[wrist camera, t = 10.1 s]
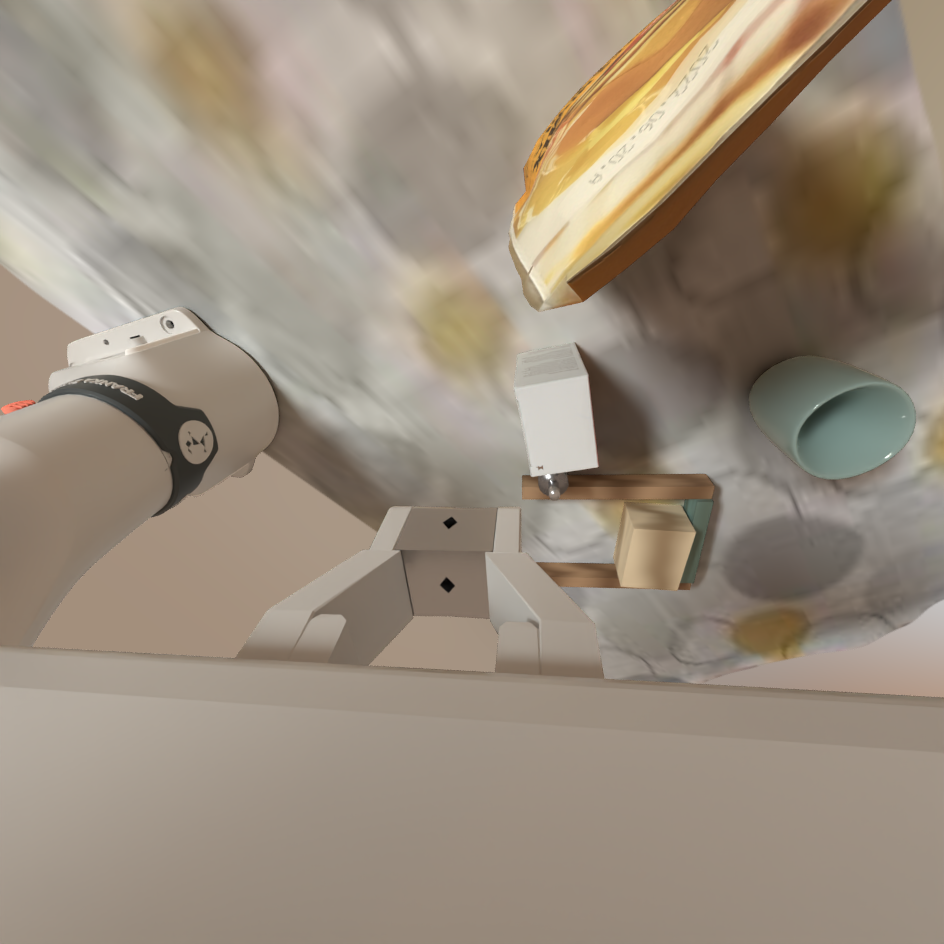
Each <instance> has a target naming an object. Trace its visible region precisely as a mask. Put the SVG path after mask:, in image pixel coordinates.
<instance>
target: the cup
mask: <svg viewBox="0 0 944 944" xmlns="http://www.w3.org/2000/svg"><path fill="white" fill-rule="evenodd" d="M749 408H750V413H751V415H752V417H753V419H754V422H755V423H756V425H757V426H758V428H759V429H760V430H761V432H762V433H763V434H764V435H765V436H766V437H767V439H768V440H769V441H770V442H771V443H772V444H773V445H775V446H776V447H777V448H778V449H779V450H780V451H781V452H782V453H783V454H785V455H786V456H787V457H788V458H789V459H790V460H791V461H793V462H794V463H795V464H796V465H797V466H799V467H800V468H801V469H802V470H804V471H805V472H807V473H809V474H811V475H813V476H815V477H818V478H822V479H834V480H837V479H844V478H850V477H853V476H857V475H860V474H863V473H865V472H868V471H870V470H873V469H874V468H876V467H878V466H880V465H882V464H884V463H885V462H887V461H888V460H889V459H891V458H892V457H894V456H895V455H896V454H897V453H898V452H899V451H900V450H902V448H903V447H904V446H905V445H906V444H907V442H908V441H909V439H910V437H911V436H912V434H913V432H914V428H915V424H916V411H915V407H914V404H913V402H912V400H911V398H910V397H909V395H908V394H907V393H906V392H905V391H904V390H903V389H902V388H901V387H899V386H897V385H896V384H894V383H892V382H890V381H888V380H886V379H884V378H882V377H880V376H877V375H875V374H873V373H870V372H868V371H866V370H863V369H861V368H858V367H856V366H853V365H851V364H848V363H845V362H842V361H838V360H835V359H830V358H826V357H821V356H799V357H794V358H790V359H787V360H785V361H782V362H780V363H778V364H776V365H774V366H772V367H771V368H769V369H768V370H767V371H765V372H764V373H763V374H762V375H761V376H760V377H759V378H758V379H757V380H756V382H755V383H754V385H753V386H752V388H751V391H750V395H749Z"/></svg>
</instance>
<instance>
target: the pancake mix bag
mask: <svg viewBox="0 0 944 944" xmlns="http://www.w3.org/2000/svg"><path fill="white" fill-rule="evenodd" d="M890 1H891V0H677V1H676V2H674V3H673V4H672V5H671V6H670V7H668V8H667V9H666V10H665V11H664V12H662V13H661V14H660V15H659V16H658V17H656V18H655V19H654V20H653V21H652V22H651V23H650V24H648V25H647V26H646V27H645V28H644V29H643V30H642V31H641V32H640V33H638V34H637V35H636V36H635V37H634V38H633V39H632V40H631V41H630V42H628V43H627V44H626V45H625V46H624V47H623V48H622V49H621V50H620V51H619V52H617V53H616V54H615V55H614V56H613V57H612V58H611V59H610V60H609V61H608V62H607V63H606V64H605V65H604V66H603V67H602V68H601V69H600V70H599V71H598V72H597V73H596V74H595V75H594V76H593V77H592V78H591V79H590V80H589V81H588V82H587V83H586V84H585V85H584V86H583V87H582V88H581V89H580V90H579V91H578V92H577V93H576V94H575V95H574V96H573V97H572V98H571V100H570V101H569V102H568V103H567V104H566V105H565V106H564V108H563V109H562V110H561V111H560V112H559V113H558V115H557V116H556V117H555V118H554V120H553V121H552V122H551V123H550V125H549V126H548V127H547V129H546V130H545V131H544V133H543V134H542V135H541V136H540V138H539V139H538V141H537V143H536V145H535V147H534V149H533V151H532V153H531V155H530V157H529V159H528V161H527V163H526V165H525V166H524V168H523V170H524V178H525V187H526V192H525V193H524V195H523V196H522V197H521V198H520V200H519V201H518V202H517V203H516V205H515V207H514V211H513V219H512V222H511V226H510V230H509V233H508V234H509V236H510V241H509V251H510V254H511V257H512V259H513V262H514V264H515V267H516V269H517V271H518V273H519V275H520V277H521V280H522V287H523V294H524V296H525V298H526V299H527V301H528V302H529V304H530V305H531V307H533V308H534V309H536V310H537V311H538V312H541V311H545V310H550V309H554V308H558V307H563V306H567V305H572V304H576V303H580V302H584V301H585V300H586V299H588V298H589V297H590V296H592V295H593V294H594V293H595V292H597V291H598V290H599V289H601V288H602V287H603V286H604V285H606V284H607V283H608V282H610V281H611V280H612V279H613V278H615V277H616V276H617V275H619V274H620V273H621V272H623V271H624V270H625V269H626V268H628V267H629V266H630V265H631V264H632V263H634V262H635V261H636V260H637V259H638V258H640V257H641V256H642V255H643V254H644V253H646V252H647V251H648V250H649V249H650V248H652V247H653V246H654V245H655V244H656V243H658V242H659V241H660V240H661V239H662V238H664V237H665V236H666V235H667V234H668V233H669V232H671V231H672V230H673V229H674V228H675V227H676V226H677V225H678V223H679V222H680V221H681V220H682V219H683V218H684V217H685V215H686V214H687V213H688V212H689V211H690V210H691V209H692V207H693V206H694V205H695V204H696V203H697V202H698V201H699V199H700V198H701V197H702V196H703V195H704V194H705V192H706V191H707V190H708V189H709V188H710V187H711V186H712V184H713V183H714V182H715V181H716V180H717V179H718V178H719V177H720V176H721V175H722V174H723V172H724V171H725V170H726V169H727V168H728V167H729V166H730V165H731V164H732V163H733V162H734V161H735V160H736V159H737V158H738V157H739V156H740V155H741V154H742V153H743V152H744V151H745V150H746V149H747V148H748V147H749V146H750V145H751V144H752V143H753V142H754V141H755V140H756V139H757V138H758V137H759V136H760V135H761V134H762V133H763V132H764V131H765V130H766V129H767V128H768V127H769V126H770V125H771V124H772V122H773V121H774V120H775V119H776V118H777V117H778V116H779V115H780V114H781V113H782V112H783V111H784V110H785V108H786V107H787V106H788V105H789V104H790V103H791V102H792V101H793V100H794V99H795V98H796V97H797V96H798V95H799V93H800V92H801V91H802V90H803V89H804V88H805V87H806V86H807V85H808V84H809V83H810V82H811V81H812V80H813V78H814V77H815V76H816V75H817V74H818V73H819V72H820V71H821V70H822V69H823V68H824V67H825V66H826V64H827V63H828V62H829V61H830V60H831V59H832V58H833V57H834V56H835V55H836V54H837V53H839V52H840V51H841V50H842V49H843V48H844V47H845V46H846V45H847V44H848V43H849V42H850V41H851V40H852V39H853V38H854V37H855V36H856V35H857V34H858V33H859V32H860V31H861V30H862V29H863V28H864V27H865V26H866V25H867V24H868V23H869V22H870V21H871V20H872V19H873V18H874V17H875V16H876V15H877V14H878V13H879V12H880V11H881V10H882V9H883V8H884V7H885V6H886V5H887V4H888V3H889V2H890Z"/></svg>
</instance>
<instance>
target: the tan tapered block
mask: <svg viewBox="0 0 944 944" xmlns="http://www.w3.org/2000/svg"><path fill="white" fill-rule="evenodd" d="M695 534H696V531H695V530H694V528H693V526H692V524H691V522H690V521H689V519H688V517H687V515H686V513H685V511H684V510H683V508H682V506H681V505H670V504H652V503H634V502H625V503H624V508H623V512H622V517H621V522H620V527H619V532H618V536H617V541H616V546H615V551H614V556H613V559H614V562H615V566H616V570H617V574H618V578H619V582H620V586H621V587H633V588H647V589H660V590H673V591H677V590H678V587H679V584H680V581H681V578H682V575H683V572H684V569H685V565H686V562H687V559H688V556H689V553H690V550H691V547H692V544H693V541H694V538H695Z"/></svg>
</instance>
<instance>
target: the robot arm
mask: <svg viewBox="0 0 944 944" xmlns="http://www.w3.org/2000/svg"><path fill="white" fill-rule="evenodd" d="M171 321H172V322H173V324H174V326H173V325H172V324H171ZM67 354H68V363H69V367H68V368H66V369H62V370H59V371H56V372H53V373H52V374H51V376H50V379H49V393H48V394H47V395H45V396H43V398H41V400H40V401H39V402H38V403H35V402H34V401H32V400H26V401H19V402H14V403H11V404H8V405H6V406H4V407H2V408H1V410H2V411H3V412H4V414H5V415H2V416H0V944H944V698H943V697H942V698H941V697H925V696H907V695H906V696H905V695H889V694H871V693H870V694H869V693H852V692H835V691H817V690H816V691H815V690H799V689H780V688H763V687H745V686H727V685H709V684H708V685H707V684H691V683H672V682H653V681H634V680H615V679H604V674H603V668H602V662H601V656H600V651H599V645H598V639H597V633H596V628H595V623H594V622H593V621H592V620H591V619H590V618H589V617H588V616H587V615H586V614H585V613H584V612H583V611H582V610H581V609H580V608H579V607H578V606H577V605H576V604H575V603H574V602H573V600H572V599H571V598H570V597H569V596H568V595H567V594H566V593H565V592H564V591H563V590H562V589H561V588H560V587H559V586H558V585H557V584H556V583H555V582H554V581H553V580H552V579H551V578H550V577H549V575H548V574H547V573H546V572H545V571H544V570H543V569H542V568H541V567H540V566H539V565H538V564H537V563H536V562H535V561H534V560H533V559H532V558H531V557H530V556H529V555H528V554H527V553H522V540H521V508H520V507H498V508H456V507H420V506H414V507H412V506H393V507H391V508H390V509H389V510H388V512H387V514H386V516H385V518H384V520H383V522H382V524H381V526H380V528H379V530H378V532H377V534H376V537H375V538H374V540H373V543H372V545H371V547H370V549H369V550H362V551H360V552H358V553H357V554H355V555H354V556H352V557H350V558H349V559H347V560H346V561H344V562H343V563H341V564H339V565H338V566H336V567H335V568H333V569H332V570H330V571H328V572H327V573H325V574H324V575H322V576H321V577H319V578H317V579H316V580H314V581H313V582H311V583H310V584H308V585H306V586H305V587H303V588H302V589H300V590H299V591H297V592H295V593H294V594H292V595H291V596H289V597H288V598H286V599H284V600H283V601H281V602H280V603H278V604H276V605H275V606H273V607H272V608H270V609H269V610H268V611H267V612H266V613H265V615H264V616H263V618H262V619H261V621H260V622H259V624H258V625H257V626H256V628H255V629H254V631H253V633H252V634H251V635H250V637H249V638H248V640H247V641H246V643H245V644H244V646H243V647H242V649H241V650H240V651H239V653H238V654H237V656H236V657H235V658H223V657H204V656H186V655H168V654H150V653H132V652H115V651H97V650H79V649H61V648H43V647H32V646H33V644H34V643H35V641H36V639H37V638H38V636H39V634H40V633H41V631H42V630H43V628H44V627H45V625H46V623H47V622H48V620H49V619H50V617H51V615H52V614H53V613H54V611H55V610H56V609H57V607H58V606H59V604H60V603H61V602H62V600H63V599H64V597H65V596H66V595H67V593H68V592H69V591H70V590H71V589H72V587H73V586H74V585H75V584H76V583H77V581H78V580H79V579H80V578H81V577H82V576H83V575H84V574H85V573H86V572H87V571H88V570H89V569H90V568H91V567H92V566H93V565H94V564H95V563H96V562H97V561H98V560H99V559H101V558H102V557H103V556H104V555H105V554H107V553H108V552H109V551H110V550H111V549H112V548H113V547H115V546H116V545H117V544H118V543H119V542H121V541H122V540H123V539H124V538H125V537H127V536H128V535H129V534H130V533H131V532H133V531H134V530H135V529H136V528H138V527H139V526H140V525H141V524H143V523H144V522H145V521H146V520H148V519H149V518H150V517H154V516H158V515H160V514H162V513H164V512H165V511H167V510H169V509H171V508H173V507H175V506H176V505H178V504H179V503H181V502H182V501H183V500H184V499H185V498H186V497H187V496H194V497H198V496H201V495H203V494H205V493H206V492H207V491H209V490H211V489H212V488H214V487H215V486H216V485H218V484H220V483H221V482H222V481H224V480H225V479H227V478H228V477H230V476H232V477H239V478H240V477H244V476H245V475H247V474H248V473H250V472H251V470H252V468H253V465H254V462H255V459H256V457H257V455H258V454H259V453H260V452H262V451H263V450H264V449H265V448H266V447H267V446H268V445H269V444H270V443H271V442H272V440H273V438H274V437H275V434H276V432H277V428H278V422H279V411H278V405H277V400H276V397H275V394H274V391H273V389H272V387H271V385H270V383H269V381H268V379H267V378H266V376H265V375H264V373H263V372H262V370H261V369H260V368H259V367H258V365H257V364H256V363H255V362H254V361H253V360H252V359H251V358H250V357H249V356H248V355H247V354H246V353H245V352H243V351H242V350H241V349H240V348H238V347H237V346H235V345H234V344H232V343H231V342H229V341H227V340H225V339H223V338H222V337H220V336H218V335H216V334H215V333H213V332H212V331H210V330H209V329H208V328H207V327H206V326H205V325H204V324H203V323H202V322H201V321H200V320H199V319H198V318H197V317H196V316H195V315H194V314H193V313H192V312H191V311H189V310H188V309H186V308H184V307H176V308H173V309H170V310H167V311H164V312H161V313H158V314H155V315H152V316H149V317H146V318H143V319H140V320H136V321H133V322H130V323H127V324H124V325H121V326H118V327H115V328H112V329H109V330H106V331H103V332H100V333H97V334H94V335H91V336H88V337H85V338H82V339H79V340H76V341H74V342H72V343H70V344H69V345H68V351H67ZM413 616H455V617H471V618H486V619H490V621H491V623H492V625H493V627H494V628H495V630H496V632H497V634H498V645H497V657H496V668H495V673H493V672H476V671H459V670H440V669H423V668H404V667H385V666H368V665H369V664H370V663H371V662H372V661H373V660H374V659H375V658H376V657H377V656H378V655H379V654H380V653H381V652H382V651H383V649H384V648H385V647H386V646H387V645H388V644H389V643H390V642H391V641H392V640H393V639H394V638H395V637H396V636H397V635H398V633H400V631H401V630H402V629H403V628H404V627H405V626H406V625H407V624H408V623H409V622H410V621H411V620H412V619H413Z"/></svg>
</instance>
